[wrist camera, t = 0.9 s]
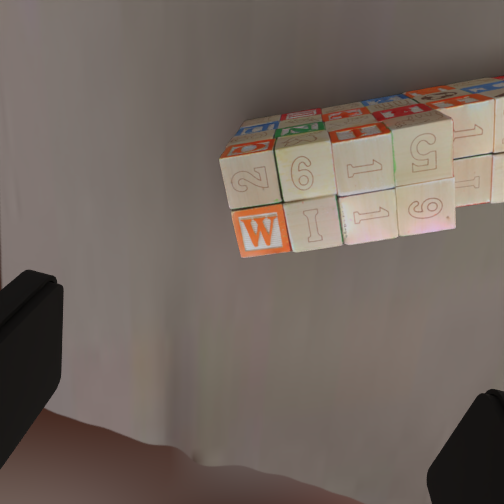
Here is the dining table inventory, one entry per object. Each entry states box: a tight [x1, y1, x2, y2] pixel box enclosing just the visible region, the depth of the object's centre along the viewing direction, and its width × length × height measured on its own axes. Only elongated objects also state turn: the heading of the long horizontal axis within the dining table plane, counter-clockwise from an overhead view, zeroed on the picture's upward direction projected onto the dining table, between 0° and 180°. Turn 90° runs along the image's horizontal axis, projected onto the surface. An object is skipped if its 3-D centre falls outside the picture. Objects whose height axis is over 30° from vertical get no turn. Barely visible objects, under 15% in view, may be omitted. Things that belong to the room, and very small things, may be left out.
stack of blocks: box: [219, 76, 504, 258], centre depth 28 cm, size 21×6×12 cm, turn 101°
